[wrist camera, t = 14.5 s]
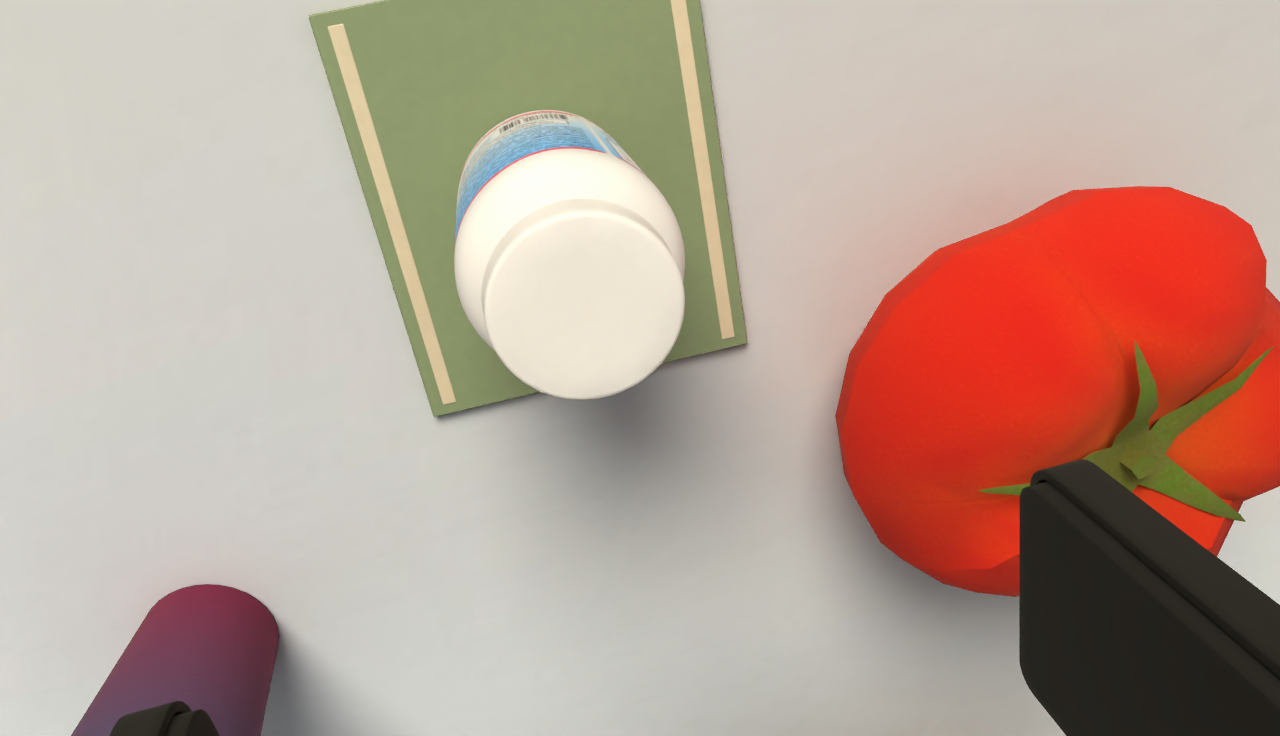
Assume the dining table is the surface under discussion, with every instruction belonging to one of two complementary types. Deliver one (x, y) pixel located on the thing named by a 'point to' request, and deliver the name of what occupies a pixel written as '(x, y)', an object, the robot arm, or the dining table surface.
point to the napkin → (502, 88)
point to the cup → (194, 662)
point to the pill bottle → (567, 256)
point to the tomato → (1066, 377)
